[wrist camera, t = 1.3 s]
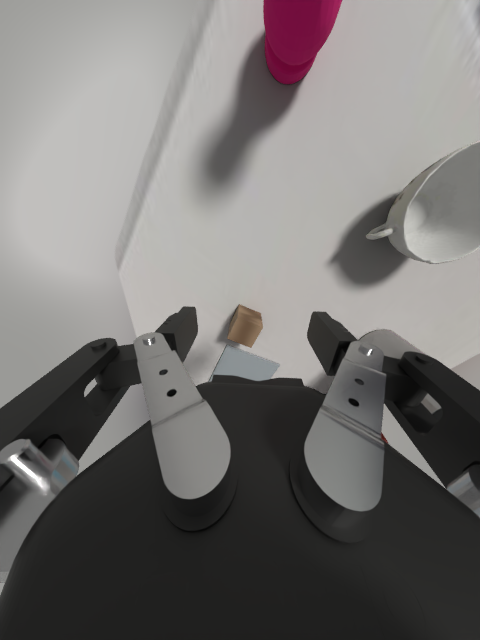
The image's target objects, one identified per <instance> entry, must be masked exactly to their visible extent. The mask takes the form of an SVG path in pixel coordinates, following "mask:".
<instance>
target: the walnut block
mask: <svg viewBox="0 0 480 640" xmlns="http://www.w3.org/2000/svg"><path fill="white" fill-rule="evenodd" d="M262 328H263V325H262V318H261V313H259V312H256V311H254V310H251V309H249V308H247V307H244V306H242V305H240V304H239V306H238V308H237V310H236V312H235V314H234V316H233V318H232V320H231V322H230V326H229V332H228V337H227V339H229V340H232V341H235V342H237V343H240V344H243V345H245V346H248V347H250V348H251V347H252V345H253V344H254V342H255V340H256V339H257V337H258V335H259V333H260V332H261V330H262Z"/></svg>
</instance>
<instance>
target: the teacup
mask: <svg viewBox="0 0 480 640" xmlns="http://www.w3.org/2000/svg"><path fill="white" fill-rule="evenodd" d="M382 229H385V230H384V231H381V232H378V231H380V230H382ZM377 232H378V233H377ZM375 233H376V234H375ZM387 235H388V238H389V241H390V242H391V244H392V245H393V246H394V247H395V248H396V249H397V250H398V251H399V252H401V253H402V254H404V255H406V256H408V257H410V258H412V259H414V260H418V261H422V262H426V263H429V264H439V263H445V262H450V261H454V260H457V259H460V258H462V257H464V256H467V255H469V254H471V253H472V252H474V251H475V250H477V249H478V248H480V140H479V141H477V142H474V143H472V144H470V145H467V146H465V147H463V148H461V149H458V150H456V151H454V152H453V153H451V154H449V155H447V156H446V157H444V158H442V159H440V160H439V161H437V162H436V163H434V164H433V165H431V166H430V167H428V168H427V169H425V170H424V171H423V172H421V173H420V174H419V175H418V176H417V177H415V178H414V179H413V180H412V181H411V182H410V183H409V184H408V185H407V186H406V187H405V188H404V189H403V191H402V192H401V193H400V194H399V196H398V197H397V198H396V200H395V201H394V203H393V205H392V207H391V209H390V211H389V214H388V218H387V221H386V223H385V224H383V225H381V226H379V227H376V228H374V229H373V230H372V231H370V232H369V233H368V234H367V235H366V238H367V239H372V240H375V239H379V238H382V237H385V236H387Z"/></svg>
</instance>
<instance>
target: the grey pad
mask: <svg viewBox="0 0 480 640" xmlns="http://www.w3.org/2000/svg"><path fill="white" fill-rule="evenodd" d="M279 366H280V365H279V364H278V363H275V362H272V361H270V360H267V359H264V358H262V357H259V356H256V355H254V354H251V353H248V352H246V351H243V350H240V349H238V348H235V347H232V346H230V345H227V346H226V348H225V350H224V352H223V354H222V356H221V358H220V360H219V362H218V364H217V366H216V368H215V370H214V372H213V374H214V375H234V376H239V377H243V378H247V379H251V380H254V381H262V380H268V379H270V378H271V377H272V375H273V374H274V373H275V371H276V370H277V369H278V367H279ZM213 374H212V376H211V378H210V380H209V382H210V381H212V378H213Z"/></svg>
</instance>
